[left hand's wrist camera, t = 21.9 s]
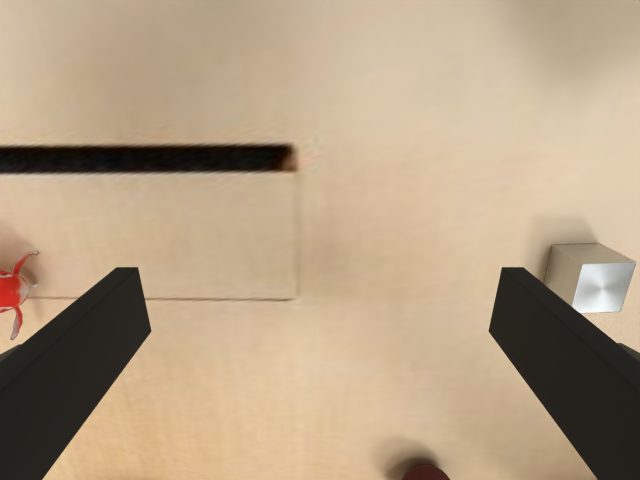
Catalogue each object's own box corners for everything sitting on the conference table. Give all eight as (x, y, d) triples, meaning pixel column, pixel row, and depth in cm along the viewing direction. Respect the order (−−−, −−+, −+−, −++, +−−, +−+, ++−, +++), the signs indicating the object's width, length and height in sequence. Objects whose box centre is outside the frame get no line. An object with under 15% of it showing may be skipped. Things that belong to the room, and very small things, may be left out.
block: (541, 289, 36) (569, 313, 32) (551, 244, 34) (582, 263, 30) (587, 288, 36) (620, 312, 32) (599, 242, 34) (636, 261, 30)
